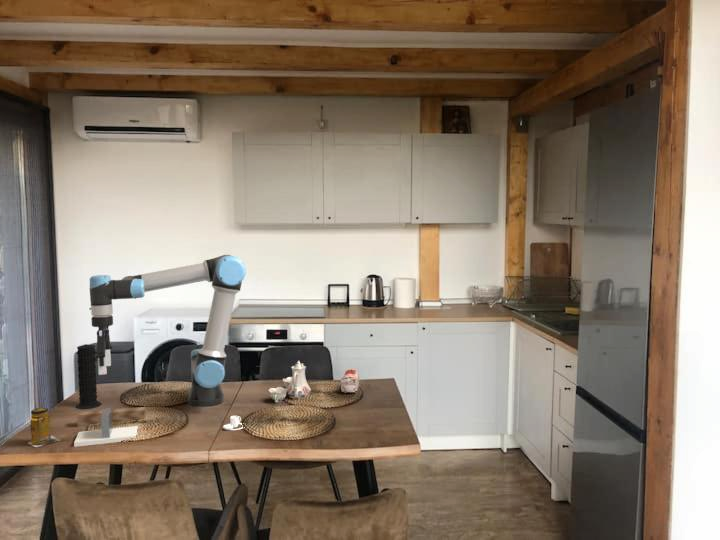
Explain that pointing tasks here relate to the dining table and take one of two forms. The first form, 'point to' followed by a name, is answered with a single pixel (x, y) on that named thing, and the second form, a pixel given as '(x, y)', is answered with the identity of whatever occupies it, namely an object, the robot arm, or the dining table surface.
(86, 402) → the handle grip
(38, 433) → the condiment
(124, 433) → the white board
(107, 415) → the steel ridge
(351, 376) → the food item
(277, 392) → the chinaware
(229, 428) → the teacup and saucer
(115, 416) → the walnut batten
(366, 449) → the dining table surface
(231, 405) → the dining table surface
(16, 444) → the dining table surface
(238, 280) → the robot arm
